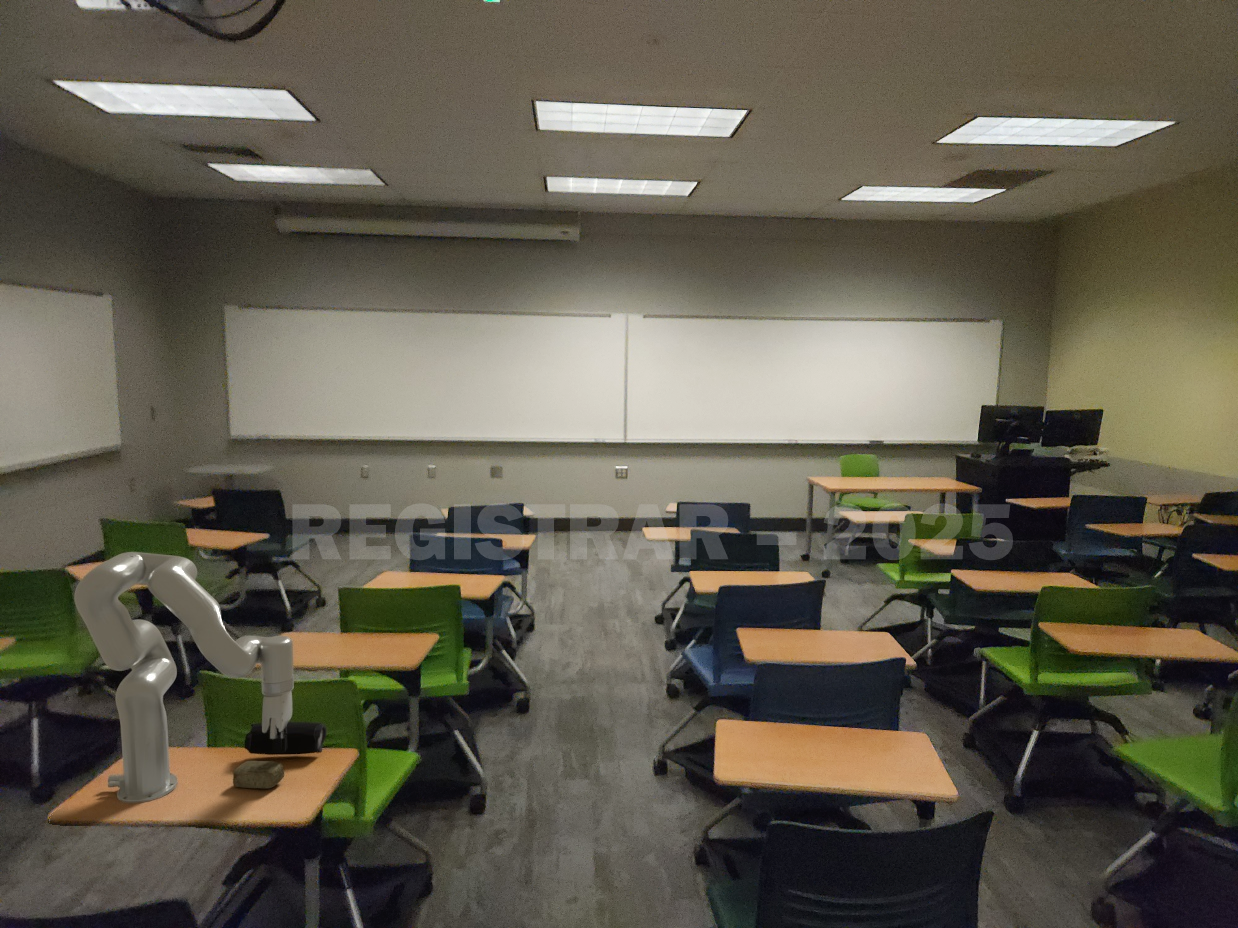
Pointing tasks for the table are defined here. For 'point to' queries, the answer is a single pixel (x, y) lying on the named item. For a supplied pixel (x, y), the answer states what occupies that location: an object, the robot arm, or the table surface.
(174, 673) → the robot arm
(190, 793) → the table surface
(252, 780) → the stone block
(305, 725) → the portable speaker
